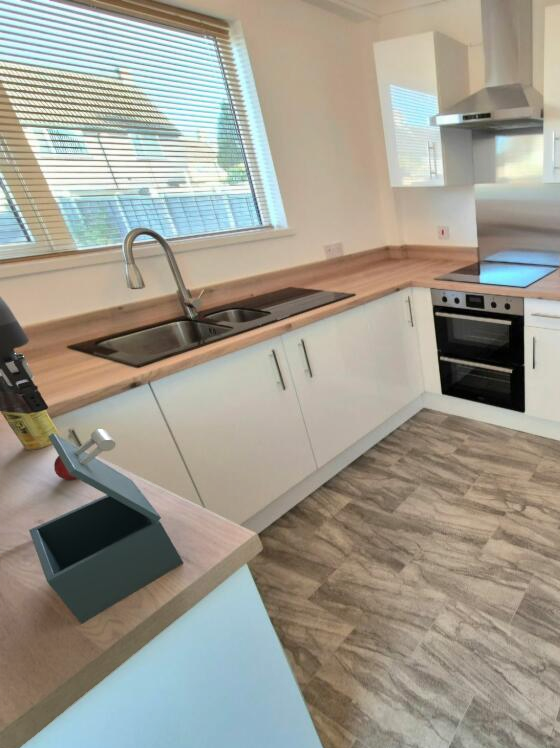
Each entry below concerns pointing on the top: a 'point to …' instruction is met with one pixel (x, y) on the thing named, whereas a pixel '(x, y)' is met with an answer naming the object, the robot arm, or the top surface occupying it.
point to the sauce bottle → (25, 419)
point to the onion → (62, 470)
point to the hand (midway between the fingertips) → (37, 404)
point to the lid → (102, 471)
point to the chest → (102, 555)
